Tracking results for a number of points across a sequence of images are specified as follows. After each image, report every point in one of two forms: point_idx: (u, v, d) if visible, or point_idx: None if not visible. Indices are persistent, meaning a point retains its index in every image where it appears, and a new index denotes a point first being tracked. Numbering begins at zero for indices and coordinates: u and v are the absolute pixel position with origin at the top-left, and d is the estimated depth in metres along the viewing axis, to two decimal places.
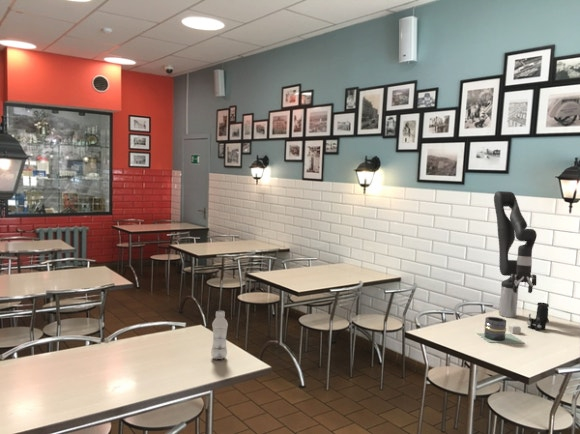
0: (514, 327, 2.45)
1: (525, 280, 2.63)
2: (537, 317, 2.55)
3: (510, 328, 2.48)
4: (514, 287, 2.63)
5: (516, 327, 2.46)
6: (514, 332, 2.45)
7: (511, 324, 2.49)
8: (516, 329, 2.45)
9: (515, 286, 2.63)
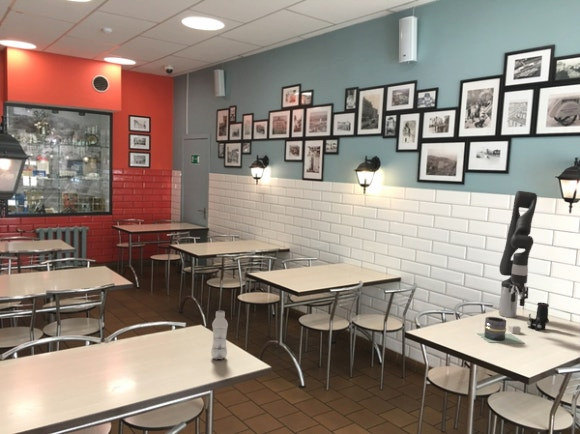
0: (514, 327, 2.46)
1: None
2: (537, 317, 2.55)
3: (510, 328, 2.48)
4: (524, 300, 2.41)
5: (516, 327, 2.46)
6: (514, 332, 2.46)
7: (511, 324, 2.49)
8: (516, 329, 2.45)
9: None
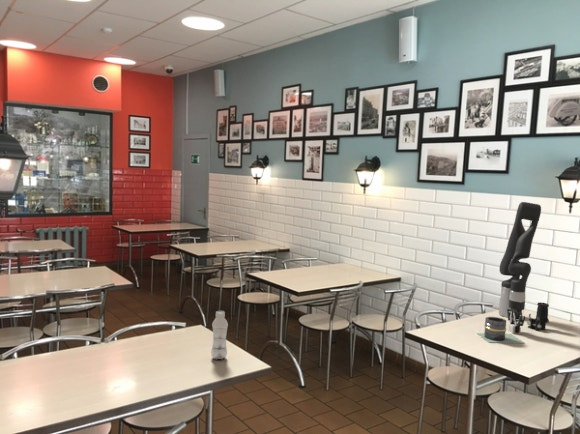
0: (514, 327, 2.45)
1: None
2: (537, 317, 2.55)
3: (510, 328, 2.48)
4: (519, 327, 2.44)
5: None
6: (514, 332, 2.45)
7: (511, 324, 2.49)
8: None
9: None
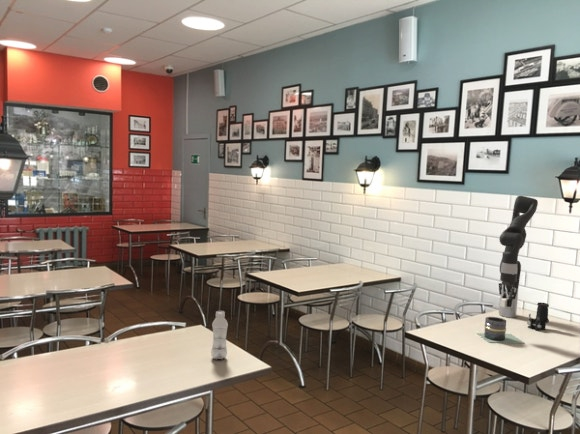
0: (506, 300, 2.36)
1: None
2: (537, 317, 2.55)
3: (502, 302, 2.38)
4: (511, 301, 2.35)
5: None
6: (506, 306, 2.36)
7: (503, 298, 2.39)
8: None
9: None
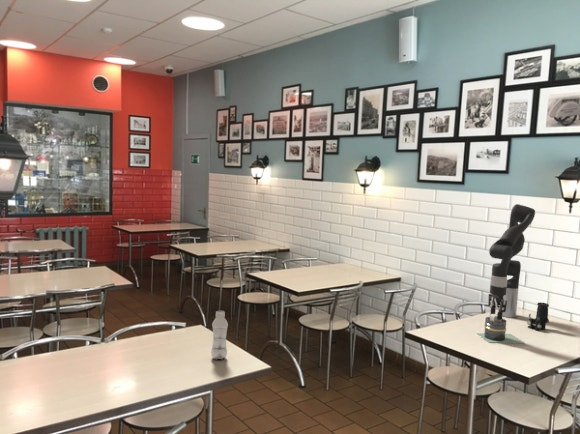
0: (495, 316, 2.34)
1: None
2: (537, 317, 2.55)
3: (491, 318, 2.36)
4: (502, 314, 2.31)
5: None
6: None
7: None
8: None
9: (501, 312, 2.32)
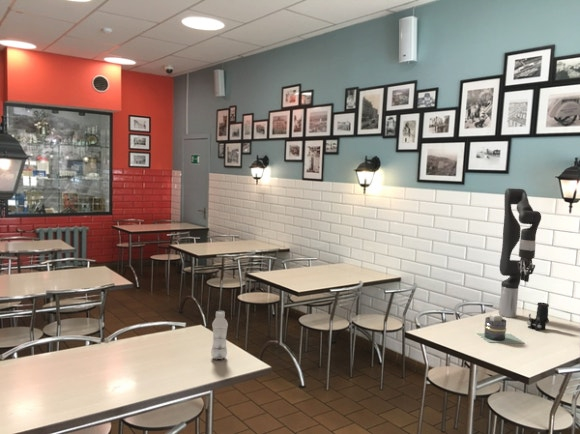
0: (495, 316, 2.34)
1: None
2: (537, 317, 2.55)
3: (491, 318, 2.36)
4: (528, 276, 2.46)
5: (497, 316, 2.34)
6: None
7: None
8: (497, 318, 2.34)
9: None
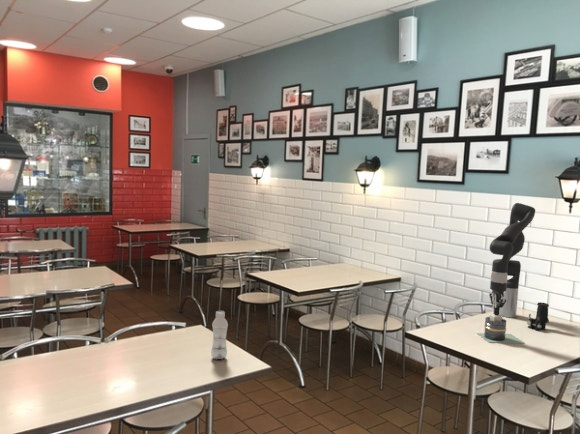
0: (495, 316, 2.34)
1: None
2: (537, 317, 2.55)
3: (491, 318, 2.36)
4: (499, 309, 2.34)
5: (497, 316, 2.34)
6: None
7: None
8: (497, 318, 2.34)
9: None
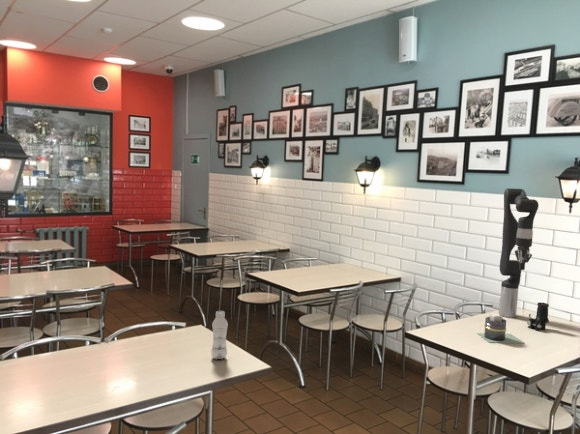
0: (495, 316, 2.34)
1: None
2: (537, 317, 2.55)
3: (491, 318, 2.36)
4: (524, 264, 2.47)
5: (497, 316, 2.34)
6: None
7: None
8: (497, 318, 2.34)
9: None
